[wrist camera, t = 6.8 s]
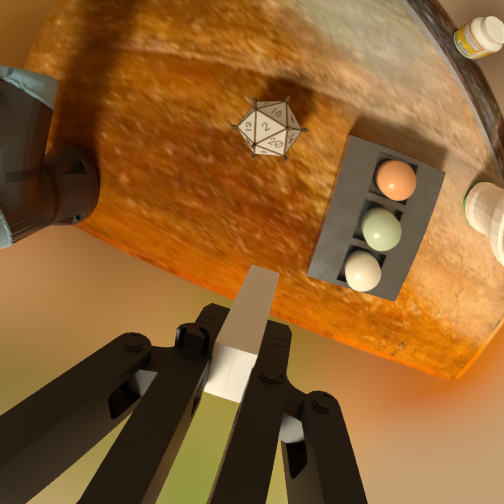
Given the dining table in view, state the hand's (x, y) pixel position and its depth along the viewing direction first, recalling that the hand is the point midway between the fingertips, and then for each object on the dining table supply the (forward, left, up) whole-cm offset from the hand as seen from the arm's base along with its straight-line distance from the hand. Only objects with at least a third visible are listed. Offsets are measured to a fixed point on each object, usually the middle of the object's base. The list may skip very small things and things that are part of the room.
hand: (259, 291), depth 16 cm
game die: (-5, +8, -30) cm, 31 cm away
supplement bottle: (+20, +32, -30) cm, 48 cm away
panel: (+12, 0, -29) cm, 32 cm away
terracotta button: (+12, +7, -26) cm, 29 cm away
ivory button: (+12, -6, -26) cm, 29 cm away
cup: (+29, +8, -30) cm, 42 cm away
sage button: (+12, 0, -25) cm, 28 cm away
